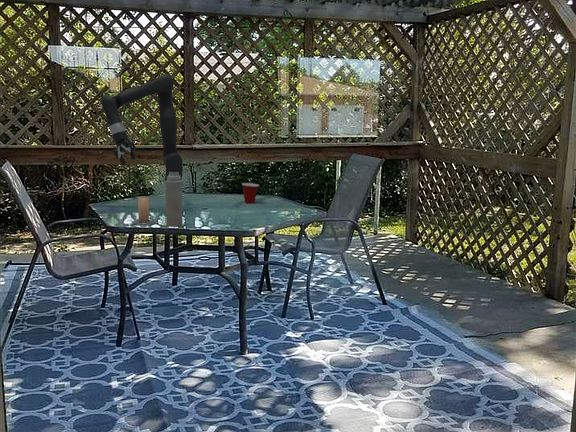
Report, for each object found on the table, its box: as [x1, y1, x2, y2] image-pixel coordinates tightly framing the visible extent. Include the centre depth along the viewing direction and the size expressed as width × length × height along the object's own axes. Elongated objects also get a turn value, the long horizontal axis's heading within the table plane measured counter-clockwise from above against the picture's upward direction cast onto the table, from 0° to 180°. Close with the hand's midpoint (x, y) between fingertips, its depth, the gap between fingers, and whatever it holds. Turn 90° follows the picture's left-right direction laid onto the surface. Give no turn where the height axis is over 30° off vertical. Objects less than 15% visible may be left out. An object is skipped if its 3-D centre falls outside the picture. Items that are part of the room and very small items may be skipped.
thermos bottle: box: [165, 169, 183, 228], centre depth 307 cm, size 8×8×28 cm
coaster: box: [131, 219, 157, 226], centre depth 314 cm, size 12×12×1 cm
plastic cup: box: [241, 182, 260, 205], centre depth 383 cm, size 11×11×12 cm
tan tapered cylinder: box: [137, 197, 150, 223], centre depth 313 cm, size 5×5×12 cm
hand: (128, 162), depth 325 cm, fingers open, 8 cm apart
